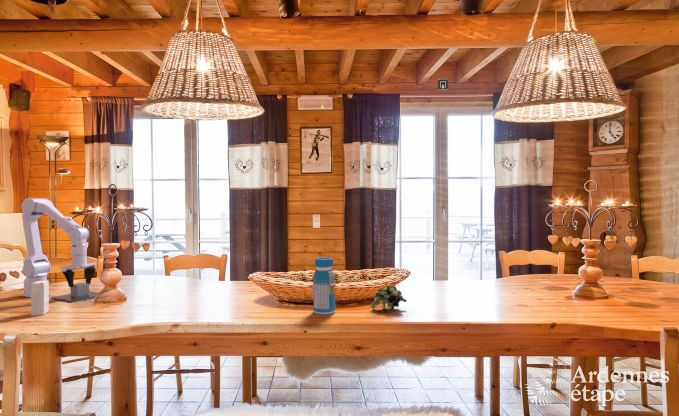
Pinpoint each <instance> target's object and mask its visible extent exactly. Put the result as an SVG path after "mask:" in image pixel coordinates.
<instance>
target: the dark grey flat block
mask: <svg viewBox="0 0 679 416" xmlns="http://www.w3.org/2000/svg"><path fill="white" fill-rule="evenodd" d="M98 293H100V292H98V291H91V290H89V295H86V296H81V297H74V296H71V293H67V294H66V293H65V294H61V295H56V296H51V297H50V299H51V300H54V299H56V300H55V301H60V300H61V301H60V302H66V301H67V302H68V303H72V302H73V303H77V301H78V302H82V300H83V301H86V300H87V299H88V300H93V299H96V298H95V297H96V296H97V294H98ZM92 298H93V299H92ZM88 300H87V301H88Z"/></svg>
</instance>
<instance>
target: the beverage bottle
mask: <svg viewBox="0 0 679 416" xmlns="http://www.w3.org/2000/svg"><path fill="white" fill-rule="evenodd" d="M314 266H315V268H316V269H315V271H314V273H313V276H312V279H313V282H312V289H313V290H312V291H313V292H312V293H313V312H314V313H315V314H316V315H317V314H318V315H332V314H334V313H336V280H335V278H336V275H335V272H334V270H333V269H332V268H333V267H334V260H333V257H323V256H322V257H316V258H314Z"/></svg>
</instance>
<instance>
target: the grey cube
mask: <svg viewBox="0 0 679 416" xmlns="http://www.w3.org/2000/svg"><path fill="white" fill-rule="evenodd" d="M69 288H70V294H71V296H74V297H81V296H86V295H89V291H90V284H87V283H86V282H77V283H73V287H69Z"/></svg>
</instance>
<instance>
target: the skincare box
mask: <svg viewBox="0 0 679 416" xmlns="http://www.w3.org/2000/svg"><path fill="white" fill-rule="evenodd" d="M49 293H50V280H48V279H47V280H46V281H36V282H34V283H32V284H31V297H30V299H31V301H30V303H31V304H30V306H31V308H30V310H31V311H30V315H31V316H32V317H33V316H34V317H36V316H37V317H38V315H39V316H44V315H46V314H47V313H48V312H49V311H50V297H49V296H50V295H49Z"/></svg>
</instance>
